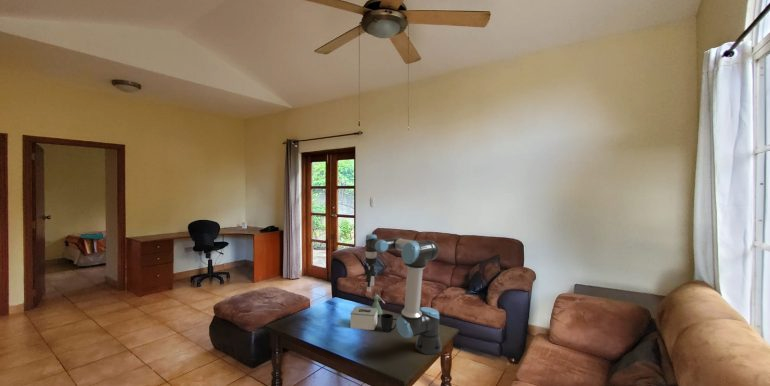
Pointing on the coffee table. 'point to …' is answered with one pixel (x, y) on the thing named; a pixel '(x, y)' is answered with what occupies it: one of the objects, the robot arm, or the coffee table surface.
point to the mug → (387, 322)
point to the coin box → (364, 318)
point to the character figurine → (376, 303)
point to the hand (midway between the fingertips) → (370, 288)
